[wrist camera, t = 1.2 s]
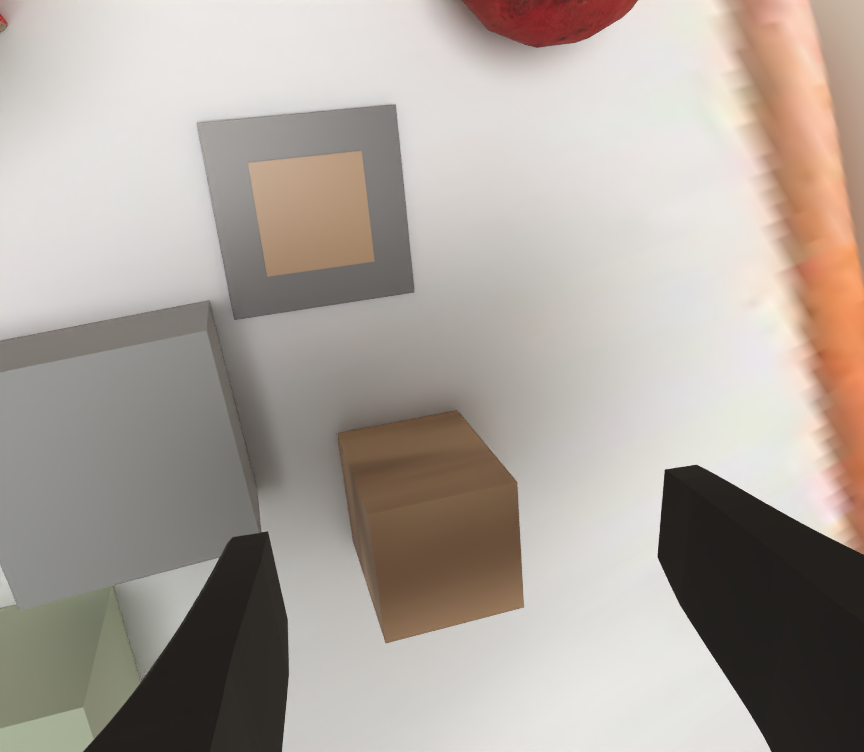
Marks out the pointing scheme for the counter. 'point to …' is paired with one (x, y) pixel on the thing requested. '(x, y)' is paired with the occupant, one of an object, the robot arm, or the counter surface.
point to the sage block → (63, 672)
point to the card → (309, 208)
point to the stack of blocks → (2, 24)
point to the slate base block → (118, 453)
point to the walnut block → (432, 523)
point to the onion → (548, 18)
